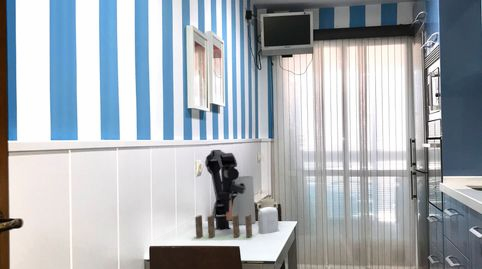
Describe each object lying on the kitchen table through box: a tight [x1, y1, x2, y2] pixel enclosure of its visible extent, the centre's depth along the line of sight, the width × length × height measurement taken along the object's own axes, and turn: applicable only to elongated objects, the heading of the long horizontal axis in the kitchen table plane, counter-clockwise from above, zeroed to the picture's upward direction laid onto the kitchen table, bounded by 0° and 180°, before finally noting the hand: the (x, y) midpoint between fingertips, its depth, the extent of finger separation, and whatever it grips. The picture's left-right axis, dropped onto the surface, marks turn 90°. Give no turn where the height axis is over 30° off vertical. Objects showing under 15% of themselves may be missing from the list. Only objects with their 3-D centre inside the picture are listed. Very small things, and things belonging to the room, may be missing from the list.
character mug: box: [256, 198, 279, 211], centre depth 267 cm, size 11×7×13 cm, turn 95°
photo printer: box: [257, 206, 279, 235], centre depth 243 cm, size 10×4×12 cm, turn 123°
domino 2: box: [207, 214, 216, 238], centre depth 237 cm, size 2×5×10 cm, turn 166°
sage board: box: [191, 233, 257, 241], centre depth 235 cm, size 28×13×1 cm, turn 76°
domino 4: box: [245, 214, 253, 238], centre depth 232 cm, size 2×5×10 cm, turn 166°
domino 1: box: [194, 214, 204, 239], centre depth 238 cm, size 2×5×10 cm, turn 166°
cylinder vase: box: [231, 175, 256, 226], centre depth 275 cm, size 12×12×25 cm
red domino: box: [226, 199, 233, 221], centre depth 246 cm, size 2×5×10 cm, turn 166°
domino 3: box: [232, 215, 241, 238], centre depth 234 cm, size 2×5×10 cm, turn 165°
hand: (229, 211), depth 246 cm, fingers closed on red domino, 5 cm apart
